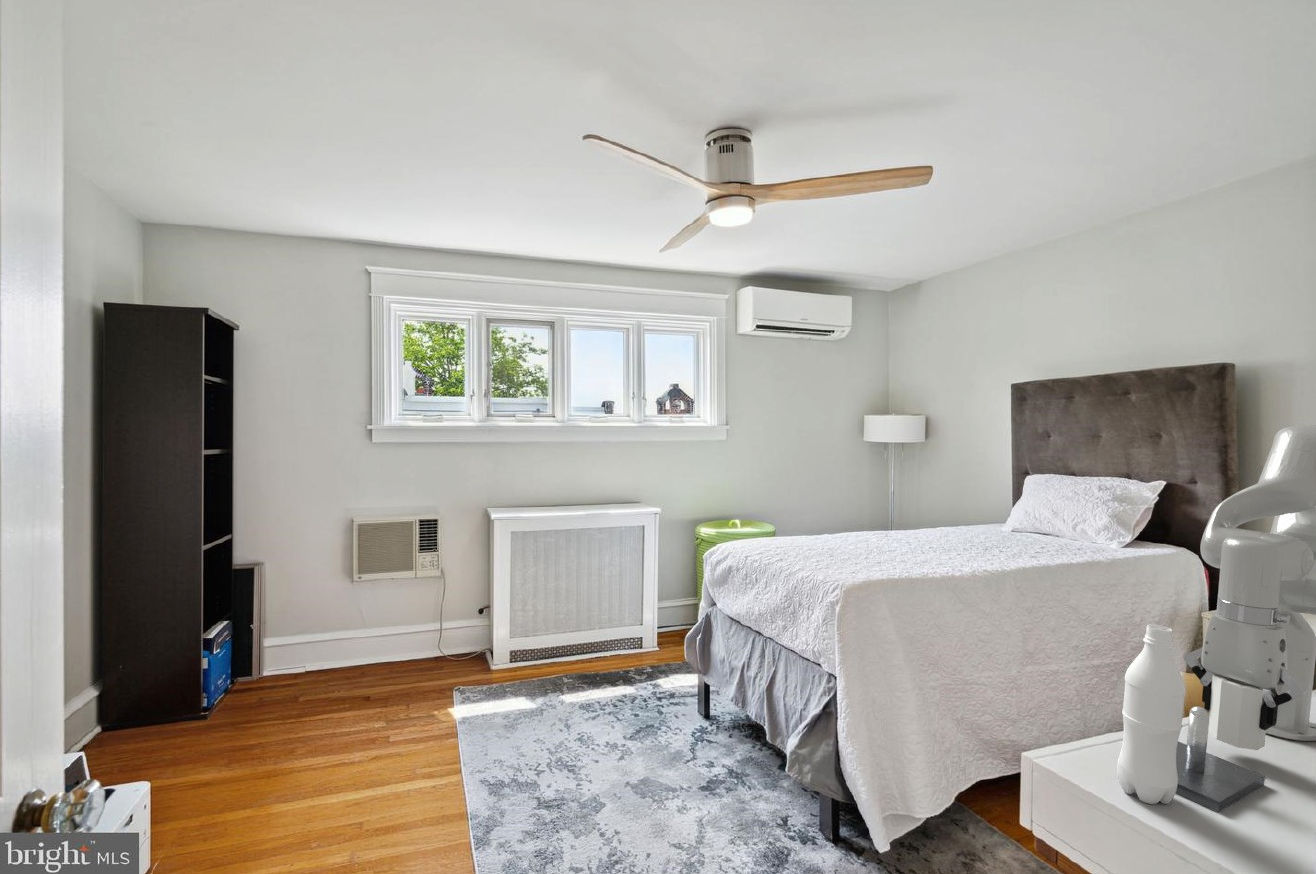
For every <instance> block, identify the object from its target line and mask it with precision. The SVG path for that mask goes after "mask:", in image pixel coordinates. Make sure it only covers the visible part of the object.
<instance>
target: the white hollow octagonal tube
mask: <svg viewBox="0 0 1316 874" xmlns="http://www.w3.org/2000/svg"><path fill="white" fill-rule="evenodd" d="M1264 703H1265V700H1264V698H1263V690H1261V689H1259V687H1256V686H1252V685H1249V684H1246V683H1243V682H1239V681H1236V680H1233V679H1230V678H1226V677H1223V676H1220V675H1213V676H1212V687H1211V702H1210V710H1209V711H1208V713H1209V728H1208V734H1210V735H1211V736H1212V737H1213V738H1214V739H1215V740H1217V741H1219V742H1222V743H1225V744H1228V745H1229V746H1233V747H1235V748H1239V749H1247V750H1254V751H1259V750H1260V749H1262V748H1264V747H1265V746H1266V735H1267V733H1266V730H1262V729H1261V728H1260V727H1259V723H1260V711H1261V706H1262V705H1263V704H1264Z"/></svg>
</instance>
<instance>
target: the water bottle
mask: <svg viewBox="0 0 1316 874" xmlns="http://www.w3.org/2000/svg"><path fill="white" fill-rule="evenodd" d="M1145 629H1146V630H1145V631H1146V632H1145V633H1146V634H1145V635H1144V637H1143V640H1142V641H1143V642H1144V646H1143V648H1142V650H1141V652H1140V653H1139V654H1138V655H1137V656H1136V657H1135V659H1134V660H1133V661H1132V662H1131V664H1130V665H1129V667H1128V668H1127V670H1126V671H1125V674H1124V675H1125V676H1124V681H1125V685H1124V694H1123V695H1124V696H1123V705H1122V709H1121V710H1122V711H1121V713H1122V719H1123V736H1122V744H1121V750H1120V753H1119V756H1118V759H1117V762H1116V775H1117V779H1118V782H1119V785H1120V786H1121V789H1122V790H1123V791H1124V792H1125V793H1126V794H1129V795H1132V794H1134V793H1136V794H1137V797H1138V798H1139V800H1140V801H1142V802H1144V803H1146V804H1150V805H1156V804H1157V803H1159V802H1160V803H1162V804H1164V805H1165V804H1169V803H1170V802H1171V801H1172V800H1173V799H1174V797H1175V795H1176V794H1177V793H1176V790H1177V784H1178V775H1177V768H1176V749H1177V743H1178V741H1179V738H1180V734H1181V730H1182V728H1183V718H1184V717H1183V714H1184V704H1185V696H1186V693H1187V691H1186V683H1185V680H1184V677H1183V675H1182V674H1181V673H1182V672H1181V671H1180V669H1179V667H1178V665H1177V664H1176V662H1175V659H1174V657H1173V653H1172V649H1173V648H1174V646H1175V645H1174V643H1173V642H1174V641H1173V640H1172V639H1173V629H1172V628H1169V627H1167V626H1164V625H1159V624H1150V623H1149V624H1147V625H1146V628H1145Z"/></svg>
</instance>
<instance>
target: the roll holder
mask: <svg viewBox="0 0 1316 874" xmlns="http://www.w3.org/2000/svg"><path fill="white" fill-rule="evenodd" d="M1188 714H1189V715H1188V727H1187V736H1186V737H1187V738H1186V743H1184V742H1181V741H1179V740H1178V743H1177V749H1176V768H1177V775H1178V784H1177V790H1176V793H1175V794H1176V795H1180V796H1181V797H1183V798H1185V799H1188V800H1190V801H1191V802H1195V803H1197V804H1199V805H1201V806H1203V807H1205V808H1208V809H1210V810H1212V811H1215V812H1216V813H1219V812H1221V811H1223V810H1225V809H1227V808H1228V807H1230V806H1231V805H1233V804H1235V803H1237V802H1238V801H1240V800H1241V799H1243V798H1245V797H1246V796H1248V795H1250V794H1252V793H1254V792H1255V791H1257V790H1258V789H1260V788H1262V787H1264V786H1265V780H1266V775H1265V774H1261V773H1259V772H1257V771H1255V770H1252V769H1249V768H1247V767H1244V766H1242V765H1239V764H1236V763H1234V762H1231V761H1229V760H1227V759H1223V758H1221V757H1219V756H1217V755H1214V754H1211V753H1209V752H1207V746H1208V739H1209V738H1208V737H1209V732H1208V728H1209V711H1208V710H1206V709H1204V707H1202V706H1192V707H1191V708H1190V710H1189V713H1188Z"/></svg>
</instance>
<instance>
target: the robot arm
mask: <svg viewBox="0 0 1316 874" xmlns="http://www.w3.org/2000/svg"><path fill="white" fill-rule="evenodd" d="M1272 441H1273V442H1272V445H1271V448H1270V450H1269V453H1268V456H1267V458H1266V461H1265V463H1264V466H1263V469H1262V472H1261V473H1260V476H1259V479H1258V481H1257V483H1255V484H1253V485H1251V486H1250V485H1249V487H1248V486H1247V487H1246V488H1244V489H1241V490H1239V491H1237V492H1235V493H1234V494H1232V495H1231V496H1229V497H1227V498H1225V499H1224V500H1223V501H1221V502H1220V503H1218V505H1217V506H1216V507H1215V508H1214V510H1213V511H1212V513H1210V516H1209V519H1208V521H1207V524H1206V526H1205V528H1204V532H1203V534H1202V538H1201V540H1200V546H1199V547H1200V555H1201V557H1202V559H1203V561H1204V562H1205V563H1206V564H1207V565H1209V566H1211V567H1213V568H1216V569H1219V579H1218V580H1219V581H1218V593H1217V603H1216V605H1217V606H1216V611H1215V612H1213V613H1212V614H1211V615H1210V617H1209V620H1208V623H1207V626H1206V631H1205V634H1204V639H1203V643H1202V647H1200V648H1197V649H1195V650H1192V651H1190V652H1189V653H1186V654H1183V656H1182V657H1183V660H1184V661H1185V663H1186V664H1187V665H1188V666H1189V667H1190V668H1191V671H1192V673H1193V674H1194V675H1195V676H1196V677H1197V678H1198V679H1199V683H1200V685H1202V696H1201V701H1202V703H1203V704H1204V707H1203V708H1204V709H1206V710H1207V711H1208V712H1209V711H1210V702H1211V687H1212V676H1213V675H1220V676H1223V677H1226V678H1230V679H1233V680H1236V681H1239V682H1243V683H1246V684H1249V685H1252V686H1256V687H1259V689H1261V690H1263V698H1264V700H1265V703H1264V704H1263V705H1262V706H1261V711H1260V723H1259V727H1260V728H1261V729H1262V730H1266V735H1270V736H1274V737H1278V738H1284V739H1287V740H1293V741H1300V742H1312V741H1316V725H1314V724H1313V723H1311V722H1310V717H1311V706H1312V699H1313V698H1312V696H1313V688H1314V676H1315V668H1316V667H1315V666H1316V633H1315V631H1314V630H1313V628H1312V627H1311V625H1310V624H1309V623H1308V621H1307V620H1306V618H1305V617H1304V616H1303V615H1302V614H1306V615H1314V616H1316V424H1303V425H1302V424H1301V425H1299V424H1298V425H1292V426H1287V427H1283V428H1280V430H1278V431H1277V432H1276V433H1275V435H1274V438H1273V440H1272ZM1271 517H1273V521H1272V524H1271V528H1270V532H1264V531H1257V530H1250V529H1244V528H1238V527H1239V526H1241V525H1242V524H1245V523H1247V522H1248V523H1249V522H1251V521H1255V520H1260V519H1265V518H1271ZM1199 658H1200V661H1199Z"/></svg>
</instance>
